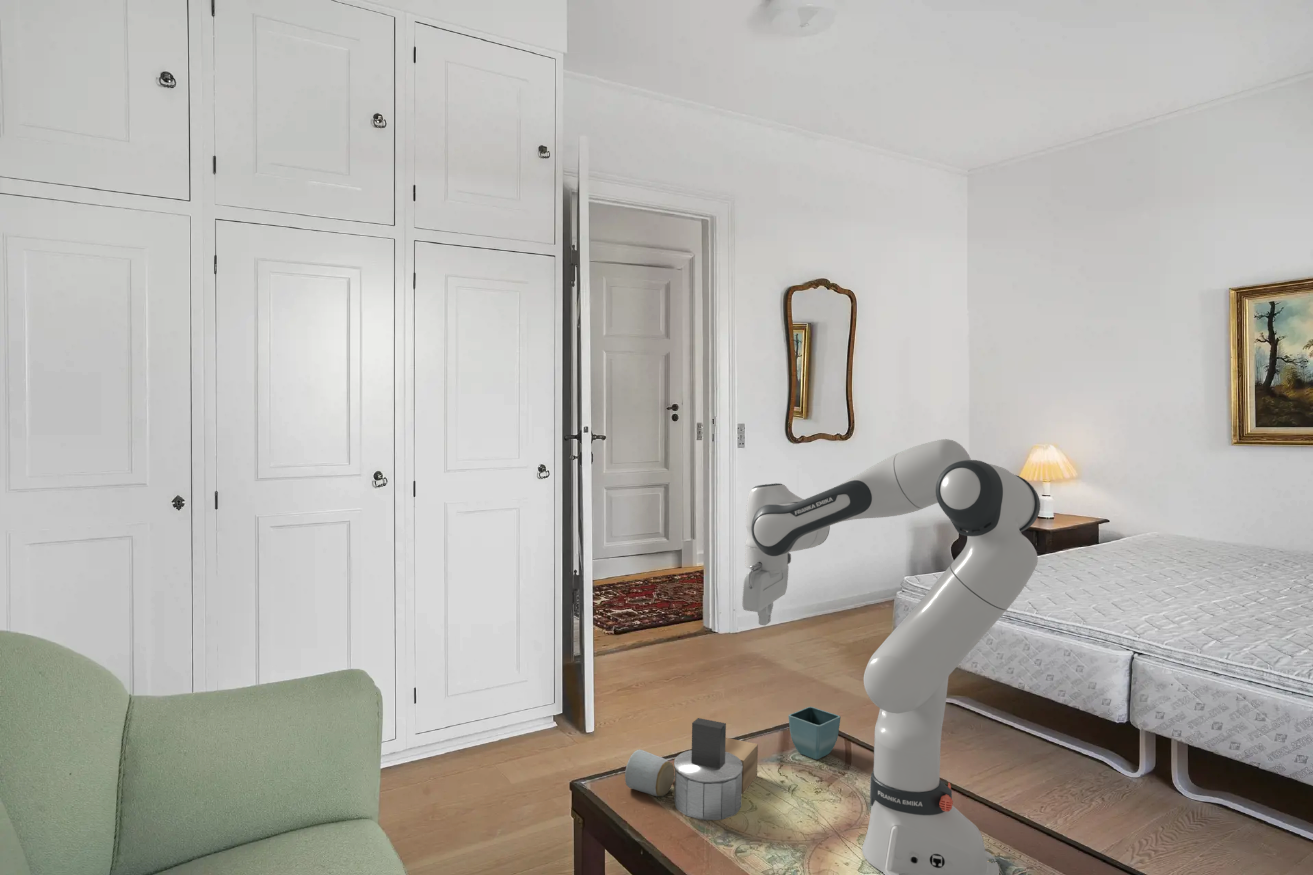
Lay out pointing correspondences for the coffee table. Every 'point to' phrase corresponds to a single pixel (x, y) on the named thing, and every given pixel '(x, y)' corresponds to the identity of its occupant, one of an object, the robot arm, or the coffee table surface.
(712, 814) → the pot
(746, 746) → the tan block
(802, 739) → the flower pot
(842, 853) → the coffee table surface
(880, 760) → the robot arm
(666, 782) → the ceramic mug
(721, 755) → the lid
